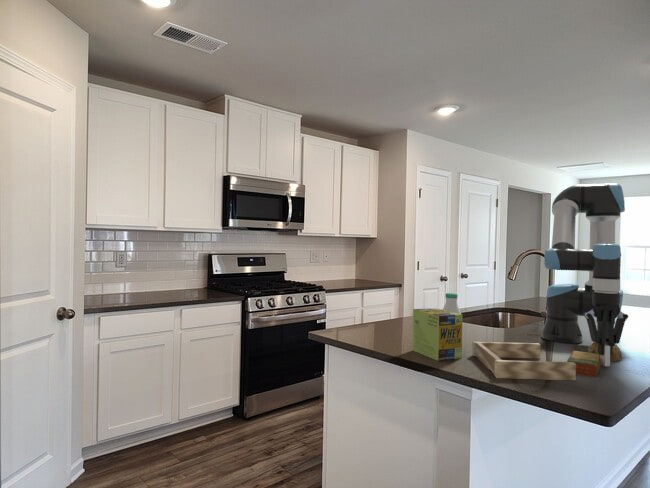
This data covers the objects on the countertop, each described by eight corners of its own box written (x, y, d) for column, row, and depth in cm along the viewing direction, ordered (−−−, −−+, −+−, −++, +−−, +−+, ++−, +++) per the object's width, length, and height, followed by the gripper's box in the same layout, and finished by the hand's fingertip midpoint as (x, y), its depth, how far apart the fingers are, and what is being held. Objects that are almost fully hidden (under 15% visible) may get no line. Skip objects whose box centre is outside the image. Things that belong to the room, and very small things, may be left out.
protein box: (438, 361, 145) (439, 315, 145) (411, 350, 159) (412, 308, 159) (462, 358, 149) (463, 314, 149) (434, 348, 163) (435, 307, 163)
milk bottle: (462, 346, 166) (462, 295, 166) (441, 345, 167) (442, 294, 167) (459, 341, 173) (460, 292, 173) (440, 340, 175) (440, 292, 175)
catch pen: (538, 357, 151) (538, 343, 151) (575, 380, 126) (575, 363, 126) (472, 355, 153) (472, 341, 153) (496, 378, 128) (496, 361, 128)
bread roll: (615, 372, 147) (628, 353, 145) (584, 356, 152) (596, 336, 150) (614, 365, 155) (626, 347, 153) (584, 350, 160) (595, 331, 158)
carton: (601, 366, 143) (601, 353, 143) (597, 379, 130) (597, 365, 130) (572, 362, 148) (572, 349, 147) (566, 373, 135) (566, 359, 134)
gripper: (619, 290, 141) (618, 362, 141) (578, 290, 142) (577, 361, 142) (634, 293, 134) (633, 369, 134) (591, 292, 134) (590, 367, 134)
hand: (604, 364), depth 138 cm, fingers closed
